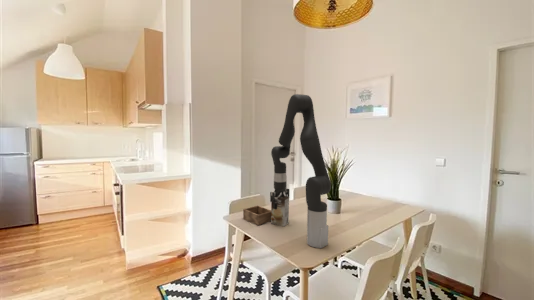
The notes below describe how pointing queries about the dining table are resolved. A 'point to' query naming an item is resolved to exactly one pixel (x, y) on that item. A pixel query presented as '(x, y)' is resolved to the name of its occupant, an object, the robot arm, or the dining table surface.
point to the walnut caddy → (257, 215)
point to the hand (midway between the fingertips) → (279, 207)
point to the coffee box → (280, 212)
